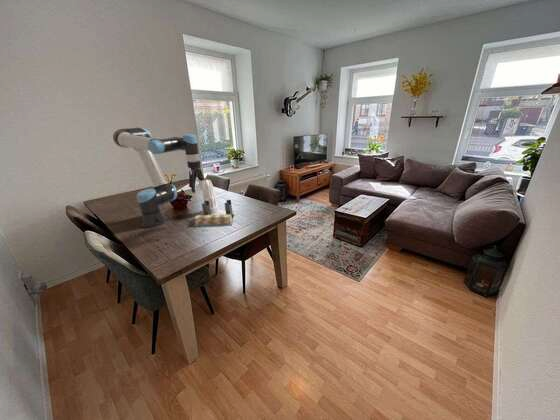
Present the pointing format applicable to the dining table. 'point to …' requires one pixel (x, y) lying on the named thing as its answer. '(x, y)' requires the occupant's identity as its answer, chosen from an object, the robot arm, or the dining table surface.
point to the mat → (212, 224)
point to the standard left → (206, 208)
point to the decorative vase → (210, 196)
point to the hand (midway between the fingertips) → (198, 193)
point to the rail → (213, 219)
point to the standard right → (229, 208)
